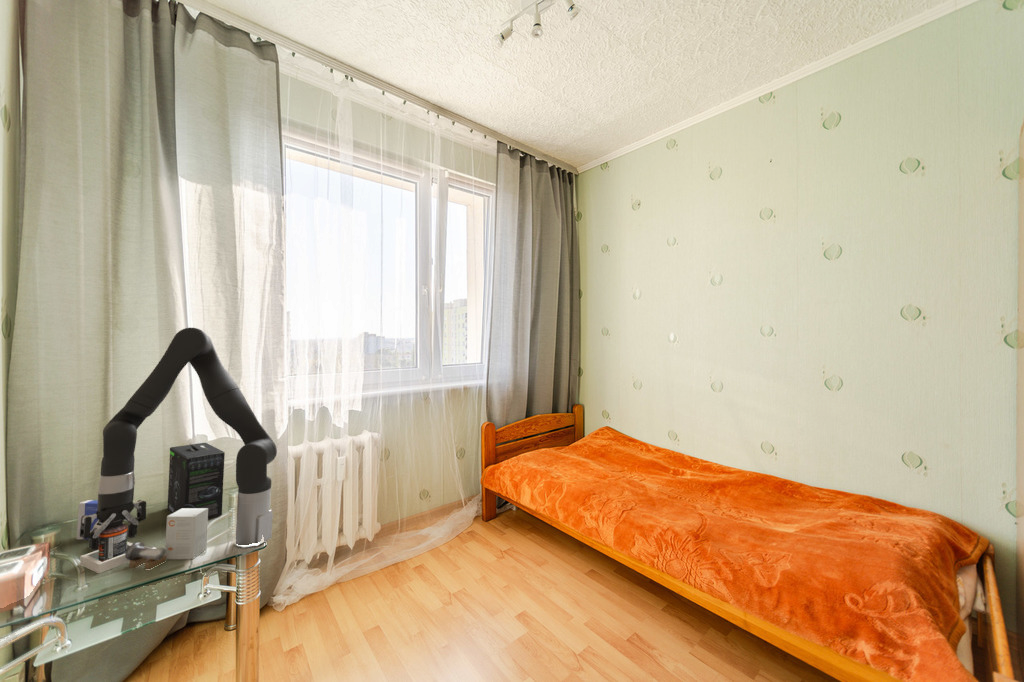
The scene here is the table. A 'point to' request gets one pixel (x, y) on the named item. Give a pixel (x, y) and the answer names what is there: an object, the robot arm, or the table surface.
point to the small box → (186, 533)
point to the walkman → (87, 513)
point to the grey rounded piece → (145, 555)
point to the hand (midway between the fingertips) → (113, 543)
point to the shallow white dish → (97, 566)
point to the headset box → (196, 478)
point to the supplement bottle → (113, 541)
